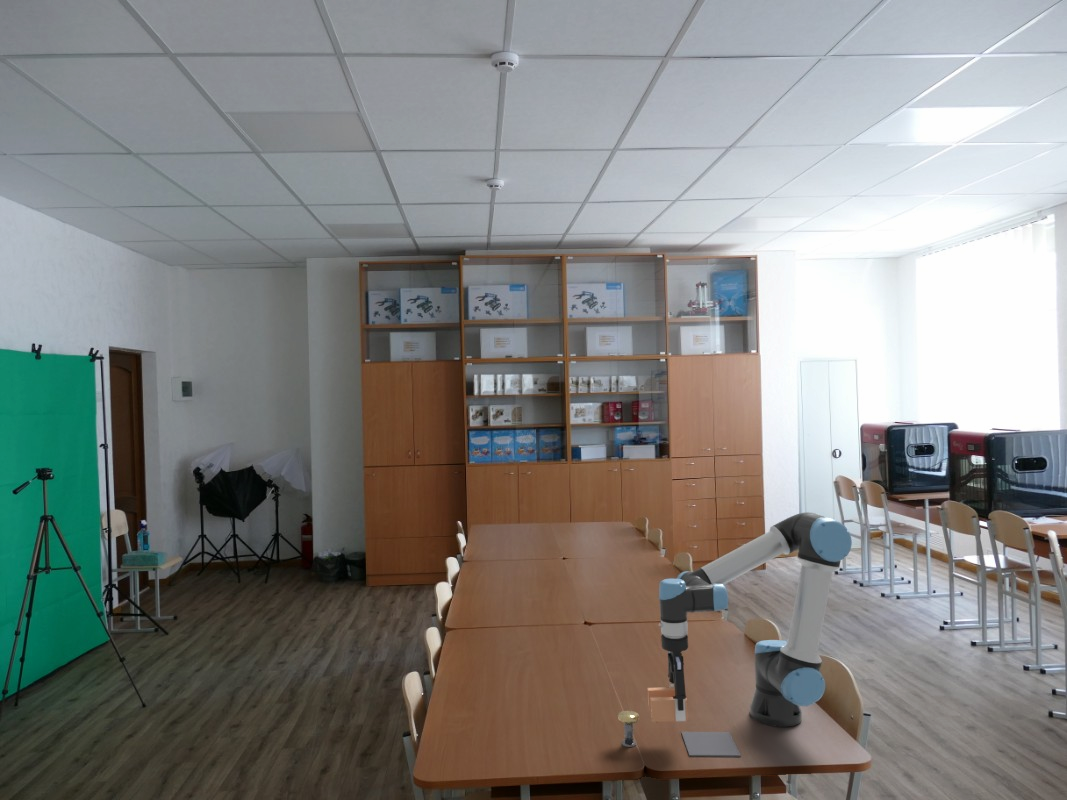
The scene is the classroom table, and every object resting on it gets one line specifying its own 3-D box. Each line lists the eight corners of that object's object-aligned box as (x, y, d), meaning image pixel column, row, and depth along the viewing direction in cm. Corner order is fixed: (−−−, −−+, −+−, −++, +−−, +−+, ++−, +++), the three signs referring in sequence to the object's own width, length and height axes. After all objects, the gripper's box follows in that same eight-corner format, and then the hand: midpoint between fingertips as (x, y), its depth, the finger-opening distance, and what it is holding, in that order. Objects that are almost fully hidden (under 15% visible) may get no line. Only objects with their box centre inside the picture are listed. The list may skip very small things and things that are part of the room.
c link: (682, 707, 208) (681, 686, 209) (688, 720, 200) (687, 699, 200) (648, 708, 209) (647, 687, 209) (652, 722, 200) (651, 700, 200)
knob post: (638, 739, 207) (637, 710, 208) (640, 748, 201) (640, 719, 202) (617, 738, 208) (617, 710, 208) (619, 748, 202) (618, 719, 202)
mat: (729, 733, 210) (729, 731, 210) (740, 756, 196) (740, 755, 196) (681, 733, 211) (681, 731, 211) (689, 756, 197) (689, 754, 197)
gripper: (656, 623, 215) (659, 697, 215) (666, 647, 194) (670, 730, 193) (681, 622, 215) (684, 697, 215) (694, 647, 193) (698, 730, 193)
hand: (677, 713), depth 204 cm, fingers closed on c link, 9 cm apart
